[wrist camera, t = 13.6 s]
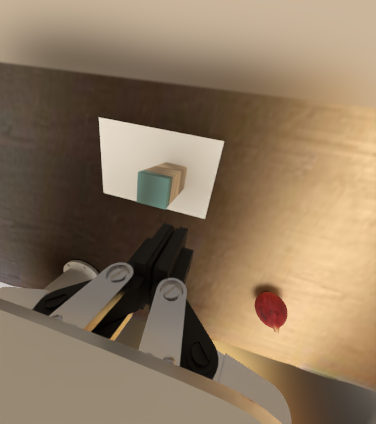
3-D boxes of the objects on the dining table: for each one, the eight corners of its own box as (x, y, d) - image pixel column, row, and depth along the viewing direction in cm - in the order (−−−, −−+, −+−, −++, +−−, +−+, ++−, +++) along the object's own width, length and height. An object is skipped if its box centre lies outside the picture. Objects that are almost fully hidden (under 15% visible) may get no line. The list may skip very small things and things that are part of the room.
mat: (224, 141, 25) (224, 141, 25) (205, 217, 32) (204, 218, 31) (101, 117, 28) (98, 117, 28) (105, 192, 34) (103, 192, 34)
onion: (247, 293, 37) (252, 330, 30) (263, 279, 34) (273, 315, 27) (268, 306, 37) (278, 345, 30) (286, 292, 34) (302, 332, 27)
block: (187, 167, 28) (169, 179, 19) (183, 188, 29) (165, 209, 21) (165, 162, 28) (137, 171, 19) (163, 183, 30) (136, 202, 21)
